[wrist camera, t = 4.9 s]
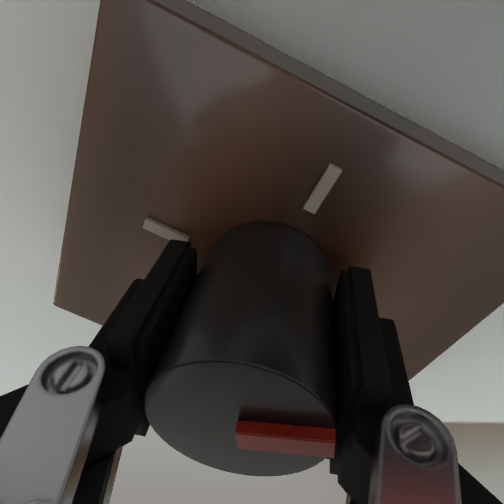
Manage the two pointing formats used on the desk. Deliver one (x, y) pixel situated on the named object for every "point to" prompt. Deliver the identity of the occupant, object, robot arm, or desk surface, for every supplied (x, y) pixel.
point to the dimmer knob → (252, 358)
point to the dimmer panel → (270, 175)
